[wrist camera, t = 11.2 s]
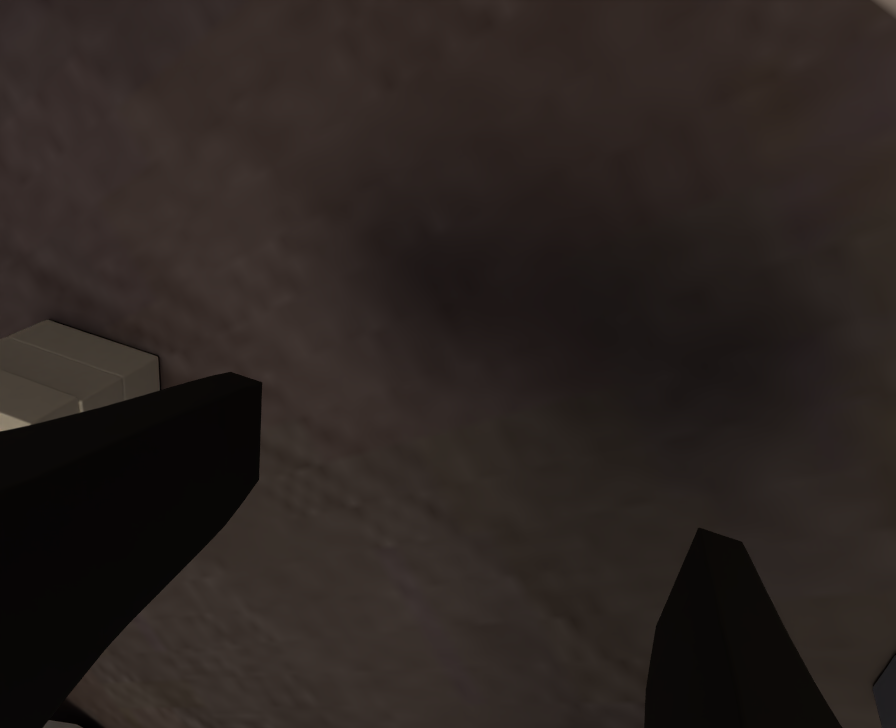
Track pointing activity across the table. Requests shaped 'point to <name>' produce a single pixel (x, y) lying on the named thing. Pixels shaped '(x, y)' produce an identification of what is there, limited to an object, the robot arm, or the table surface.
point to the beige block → (79, 364)
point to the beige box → (31, 402)
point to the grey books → (887, 695)
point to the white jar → (60, 725)
